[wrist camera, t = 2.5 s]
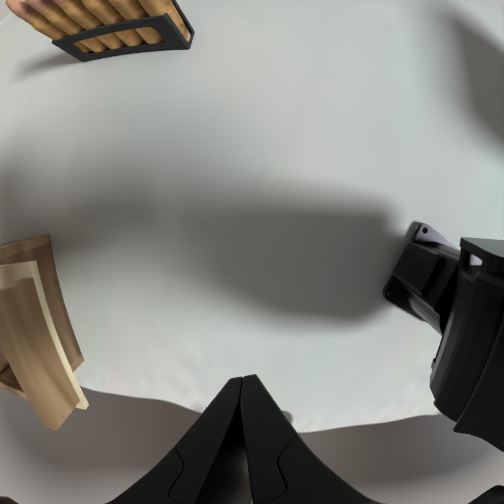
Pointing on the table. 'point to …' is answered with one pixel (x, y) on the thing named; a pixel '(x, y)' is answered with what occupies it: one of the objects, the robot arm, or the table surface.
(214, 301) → the table surface
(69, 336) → the walnut box
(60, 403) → the lid
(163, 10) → the ammunition clip
